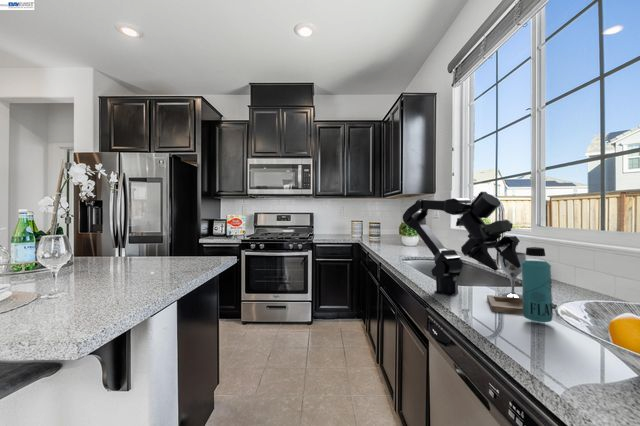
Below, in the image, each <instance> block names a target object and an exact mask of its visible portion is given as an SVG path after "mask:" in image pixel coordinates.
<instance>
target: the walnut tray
mask: <svg viewBox="0 0 640 426" xmlns="http://www.w3.org/2000/svg"><path fill="white" fill-rule="evenodd" d="M522 299H523V298H517V297H505V296H502V295H492V294H490V295H489V294H487V295H486V300H488V301H487V302H488V303H487V304H488V305H489V307H490V309H491V312H494V313H495V312H497V313H504V314H505V313H506V314H515V315H523V304H522Z"/></svg>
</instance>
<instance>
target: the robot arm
mask: <svg viewBox="0 0 640 426" xmlns="http://www.w3.org/2000/svg"><path fill="white" fill-rule="evenodd" d="M500 206H501V202H500V200H499V199H498V197H495V196H493V195H492V194H489V193H488V192H487V191H480V192H479V193H478V194H477V196H476V198H474V200H473V201H471V199H469V198H461V197H460V198H459V197H458V198H454V197H453V198H450V199H445V200H439V199H438V200H435V199H427V198H426V199H425V198H421V199H420V198H419V199H417V200H416V201H415V203H413V204H411V206H409V207H408V208H406V210H405V211H404V213H403V214H402V221H403V223H404V224H405V225H406V226H407V227H408V228H410V229H412V230H414V231H415V232H416V233H417V235H418V236H419V237H420V239H421V240H422V241H423V243H424V244H425V245H426V247H427V248H428V250H429V251H430V252H431V253H432V255H433V256H434V264H435V265H434V266H433V268H431V275H432V276H433V277H435V283H436V285H435V289H436V290H434V293H435V294H439V295H444V296H451V297H453V296H455V295H457V294H458V293H460V292H459V281H458V280H457V277H461V271H462V270H463V260H462V257H461V256H460V255H459V254H458V253H457V251H456V250H455V249H446V247H445V246H444V245H443V243H442V242H441V241H440V240H439V238H438V237H437V236H436V235H435V233H434V232H433V230H431V229H430V227H429V226H428V225H427V216H428V214H429V213H428V212H429V210H430V211H431V210H433V211H442V212H445V213H446V214H450V215H452V216H460V215H461V217H458V218H457V219H456V223H455V226H456V227H463V228H465V230H466V231H467V232H468V235H467V237H468V239H467V240H466V242H465V243H463V245H462V246H461V251H460V252H461V253H462V254H463V256H464V257H466V256H467V257H468V258H469V259H471V258H472V259H474V260H475V261H476V262H479V263H481V264H482V265H484V266H486V267H488V268H490V269H491V270H492V271H494V272H496V271H498V269H499V267H498V266H497V264H496V263H495V261H494V259H493V258H492V256H491V255H490V253H489V252H488V251H489V249H495V250H496V251H497V252H498V253H499V252H500V255H501V256H502V257H503V258H505V259H506V260H507V261H509V262H510V263H511V264H512V265H514V266H515V267H517V268H520V267H521V265H520V262H519V259H518V256H517V253H516V252H517V251H516V249H517V247H518V246H519V243H520V242H521V240H520V238H518V237H517V236H516V235H504V236H503V237H502V234H505V233H507V232H512V229H513V223H512V222H511V221H510V220H509V219H502V220H495V221H494V222H492V223H487V224H486V222H485V221H484V220H483V219H488V218H489V217H490V216H491V215H492V214H493V213H494V212H495V211H496V210H497V209H498V207H500ZM498 239H500V240H498Z"/></svg>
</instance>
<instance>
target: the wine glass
mask: <svg viewBox="0 0 640 426" xmlns="http://www.w3.org/2000/svg"><path fill="white" fill-rule="evenodd" d="M516 253H517V256H518V259H519V262H520V265H521V264H522V263H523V262H524V261H525V260H527V255H526V252H519V251H516ZM498 261H499V266H500V268H501V270H502V271H503V272H504V273H505V275H507V277H508V278H509V281H510V284H511V291H510V292H503V293H501V294H500V296H505V297H517V298H523V297H522V294H521V293H520V294H519V293H516V292H515V283H516V279H517V278H518V276H519V275H521V274H522V265H521V267H520V268H517V267H515V266H514V265H512V264H511V263H510V262H509V261H507V260H506V259H505V258H503V257H502V256H501V255H500V252H498Z"/></svg>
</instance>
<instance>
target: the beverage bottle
mask: <svg viewBox="0 0 640 426" xmlns="http://www.w3.org/2000/svg"><path fill="white" fill-rule="evenodd" d="M525 248H526V249H525V254H526V256H531V257H546V252H545V248H544V247H539V246H538V247H536V246H532V247H525ZM521 265H522V272H521V284H522V294H521V295H522V297H523V299H522V304H523V314H522V316H523V318H525V319H527V320H529V321H530V320H531V321H534V322H540V323H550V322H552V321H553V318H554V317H553V316H554V315H553V313H554V312H553V295H552V288H553V285H552V283H553V280H552V276H553V275H552V273H551V267H552V266H551V264H550V263H549V262H547V261H546V260H542V259H533V258H530V259H528V258H527V259H526V260H525V261H524V262H523V263H522V264H521Z"/></svg>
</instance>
